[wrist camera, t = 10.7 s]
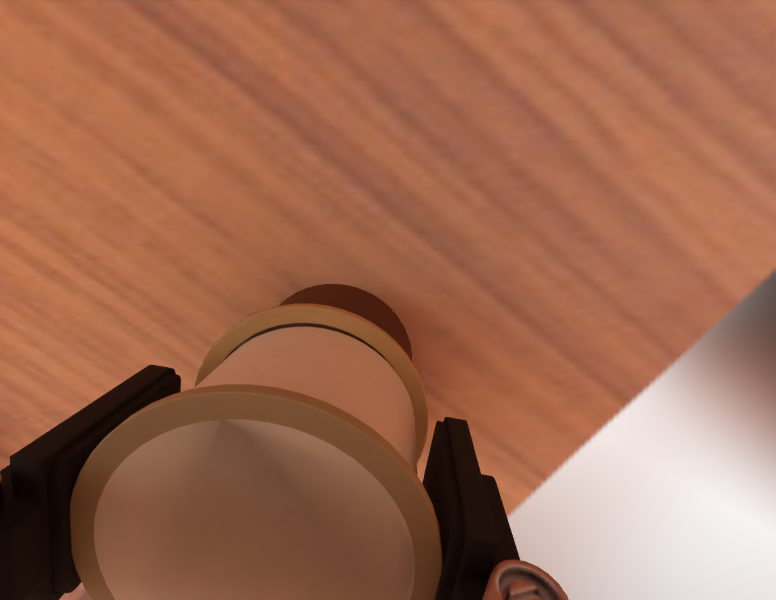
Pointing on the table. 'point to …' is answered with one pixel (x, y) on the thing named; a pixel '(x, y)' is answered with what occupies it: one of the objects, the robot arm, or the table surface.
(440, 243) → the table surface
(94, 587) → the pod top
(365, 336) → the pod base
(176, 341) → the table surface
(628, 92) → the table surface
